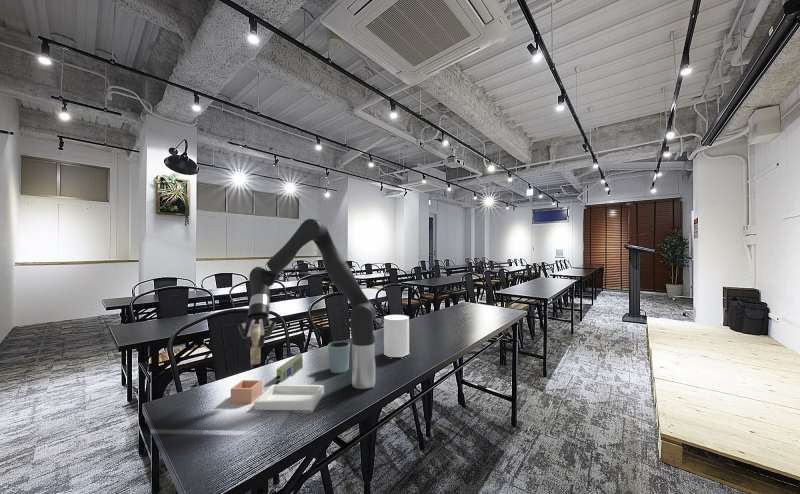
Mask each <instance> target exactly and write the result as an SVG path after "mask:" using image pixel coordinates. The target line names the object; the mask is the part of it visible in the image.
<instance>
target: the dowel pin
mask: <svg viewBox="0 0 800 494" xmlns="http://www.w3.org/2000/svg"><path fill="white" fill-rule="evenodd" d="M260 336H261V331H260V324H253V325H251V349H250V364H251V365H253V366H254V365H259V364H261V361H262V360H261V348H260V347H259V342H260Z"/></svg>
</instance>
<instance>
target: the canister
mask: <svg viewBox="0 0 800 494" xmlns="http://www.w3.org/2000/svg"><path fill="white" fill-rule="evenodd" d="M408 354H409V355H410V316H409V315H405V314H389V315H385V316H383V356H384V355H386V356H388V357H404V356H406V355H408Z"/></svg>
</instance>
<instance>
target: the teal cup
mask: <svg viewBox="0 0 800 494" xmlns="http://www.w3.org/2000/svg"><path fill="white" fill-rule="evenodd" d="M327 347H328V357H329V371H330V372H331V373H333V374H342V373H346V372H348V371H349V370H350V368H349V367H350V350H351V343H350V342H349V341H345V340H337V341H333V342H332V341H331V342H330V343H328V344H327ZM347 370H348V371H347Z"/></svg>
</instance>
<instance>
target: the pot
mask: <svg viewBox="0 0 800 494" xmlns="http://www.w3.org/2000/svg"><path fill="white" fill-rule="evenodd" d="M262 394H263V380H260V379H259V380H258V379H257V380H256V379H242V380H240V381H239V382H238V383H237V384H235V385H234V386H233V387H231V388H230V404H254V402H255V401H256V400H257V399H258V398H259V397H260V396H261V395H262Z"/></svg>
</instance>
